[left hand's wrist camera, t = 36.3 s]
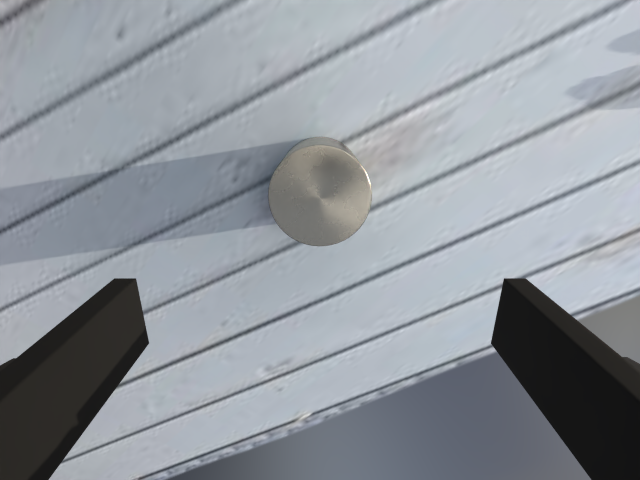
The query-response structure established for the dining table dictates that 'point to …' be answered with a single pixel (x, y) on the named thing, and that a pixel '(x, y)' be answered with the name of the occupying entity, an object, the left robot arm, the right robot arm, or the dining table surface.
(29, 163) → the dining table surface
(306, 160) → the tin
